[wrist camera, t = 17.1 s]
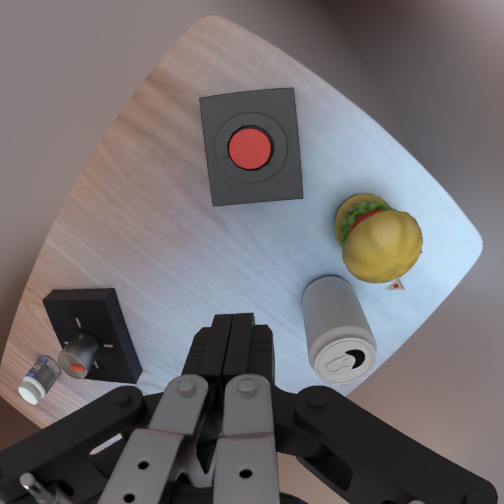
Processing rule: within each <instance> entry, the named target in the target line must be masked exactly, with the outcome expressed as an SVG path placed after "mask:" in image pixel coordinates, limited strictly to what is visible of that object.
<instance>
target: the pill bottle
mask: <svg viewBox="0 0 504 504" xmlns="http://www.w3.org/2000/svg"><path fill="white" fill-rule="evenodd" d="M59 376H60V369H59V367H58V365H57V364H56V363H55V362H54V361H53V360H52V359H50V358H48V357H45V356H43V357H41V358H40V359H39V360H38V361H37V362H36V363H35V365H34V366H33V367H32V368H31V369H30V371H29V372H28V373H27V374H26V376H25V377H24V379H23V383H22V384H21V385H20V387H19V393H20V394H21V396H22V397H23V398H24V399H25V400H26V401H27V402H29V403H31V404H33V405H36V404H37V403H38V402H39V400H40V399H41V398H43V397H45V396H46V394H47V393H48V391H49V390H50V388H51V387H52V386H53V384H54V383H55V381H56V380H57V378H58V377H59Z"/></svg>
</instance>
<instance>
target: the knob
mask: <svg viewBox="0 0 504 504" xmlns="http://www.w3.org/2000/svg"><path fill="white" fill-rule="evenodd" d="M100 353H101V346H100V344H99V342H98V341H97V339H96V338H95V337H94V336H92V335H91V334H89V333H87V332H84V331H80V332H77V333H76V334H75V335H74V336H73V338H72V339H71V340H70V341H69V343H68V344H67V345H66V346H65V348H64V349H63V350H62V351H61V353H60V354H59V355H58V363H59V365H60V367H61V368H62V369H63V371H64V372H65V373H67V374H68V375H69V376H71V377H73V378H76V379H83V378H84V377H85V376H86V375H87V373H88V372H89V370H90V368H91V367H92V365H93V364H94V362H95V361H96V359H97V358H98V356H99V355H100Z"/></svg>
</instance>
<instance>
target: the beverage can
mask: <svg viewBox="0 0 504 504" xmlns="http://www.w3.org/2000/svg"><path fill="white" fill-rule="evenodd" d="M302 310H303V317H304V325H305V332H306V340H307V348H308V356H309V362H310V365H311V367H312V368H313V370H314V371H315V373H316V375H317V376H318V377H319V378H320V379H321V380H322V381H324V382H326V383H329V384H333V385H345V384H350V383H353V382H356V381H358V380H360V379H361V378H363V377H364V376H365V375H367V374H368V373H369V372H370V370H371V369H372V367H373V366H374V363H375V360H376V341H375V339H374V336H373V334H372V331H371V329H370V327H369V324H368V322H367V320H366V317H365V315H364V313H363V310H362V308H361V306H360V303H359V301H358V299H357V297H356V294H355V292H354V290H353V288H352V286H351V285H350V284H349V283H348V282H347V281H345V280H344V279H342V278H339V277H333V276H329V277H323V278H320V279H318V280H316V281H314V282H313V283H311V284H310V285H309V286H308V287H307V289H306V290H305V292H304V294H303V297H302Z"/></svg>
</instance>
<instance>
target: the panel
mask: <svg viewBox="0 0 504 504" xmlns="http://www.w3.org/2000/svg"><path fill="white" fill-rule="evenodd" d="M42 301H43V304H44V306H45V309H46V311H47V314H48V316H49V319H50V321H51V324H52V326H53V328H54V331H55V333H56V335H57V338H58V340H59V342H60V344H61V347H62V349H64V348H65V346H66V345H67V344H68V343H69V341H70V340H71V339H72V338H73V336H74V335H75V334H76V333H77V332H80V331H84V332H87V333H89V334H91V335H92V336H94V337H95V338H96V339H97V341H98V342H99V344H100V346H101V353H100V355H99V356H98V358H97V359H96V361H95V362H94V364H93V365H92V367H91V368H90V370H89V372H88V373H87V375H86V376H85V377H84V378H83V379H91V380H99V381H108V382H118V383H130V384H136V383H137V381H138V379H139V377H140V375H141V373H142V368H141V366H140V363H139V361H138V358H137V355H136V353H135V350H134V347H133V344H132V342H131V339H130V336H129V333H128V330H127V327H126V324H125V321H124V318H123V315H122V312H121V309H120V306H119V303H118V299H117V296H116V293H115V289H114V288H111V289H83V290H53V291H52V292H51V293H49V294H48V295H47V296H46V297H45V298H44V299H43V300H42Z"/></svg>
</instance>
